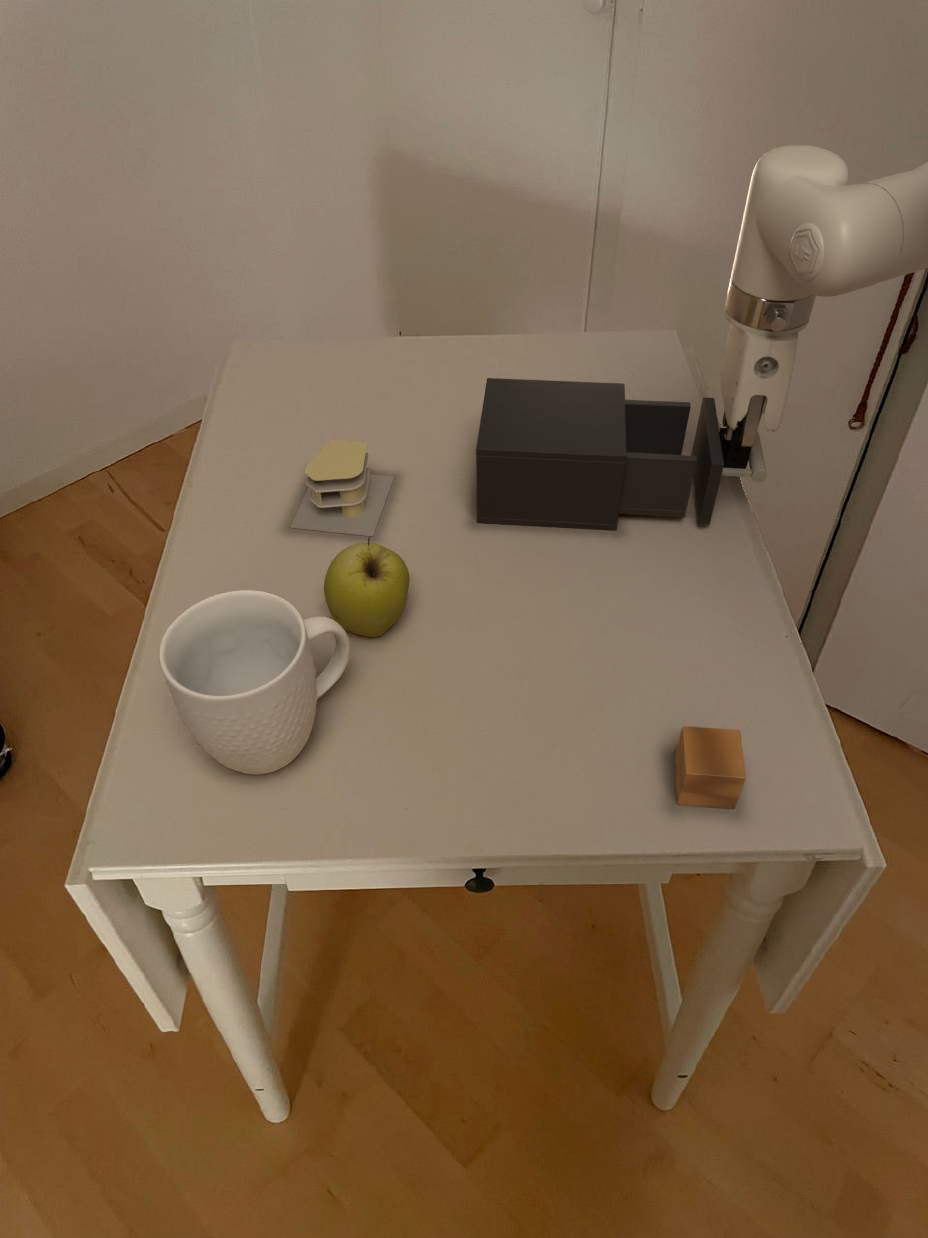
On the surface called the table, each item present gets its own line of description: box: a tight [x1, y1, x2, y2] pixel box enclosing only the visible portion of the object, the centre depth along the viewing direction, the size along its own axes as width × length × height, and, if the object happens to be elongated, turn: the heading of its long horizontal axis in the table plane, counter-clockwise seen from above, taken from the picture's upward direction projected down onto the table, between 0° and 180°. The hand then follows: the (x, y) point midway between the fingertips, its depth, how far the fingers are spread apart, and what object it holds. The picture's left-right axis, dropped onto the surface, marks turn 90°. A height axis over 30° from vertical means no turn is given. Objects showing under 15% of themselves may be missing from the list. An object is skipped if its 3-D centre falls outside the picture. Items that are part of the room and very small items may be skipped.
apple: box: [323, 537, 411, 638], centre depth 84 cm, size 8×8×10 cm
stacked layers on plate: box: [290, 439, 395, 537], centre depth 97 cm, size 10×9×6 cm
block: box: [673, 725, 747, 810], centre depth 73 cm, size 4×4×4 cm
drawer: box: [619, 396, 768, 526], centre depth 95 cm, size 18×11×8 cm, turn 84°
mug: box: [158, 589, 351, 775], centre depth 74 cm, size 15×11×13 cm
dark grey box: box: [475, 377, 627, 531], centre depth 96 cm, size 15×13×10 cm
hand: (729, 464), depth 95 cm, fingers closed
